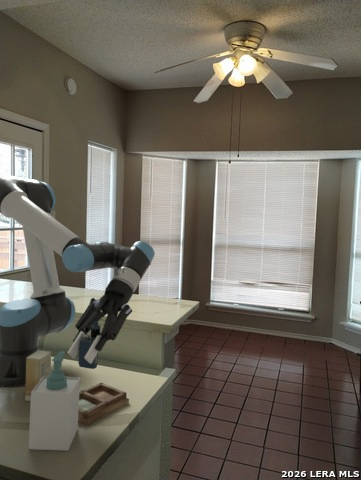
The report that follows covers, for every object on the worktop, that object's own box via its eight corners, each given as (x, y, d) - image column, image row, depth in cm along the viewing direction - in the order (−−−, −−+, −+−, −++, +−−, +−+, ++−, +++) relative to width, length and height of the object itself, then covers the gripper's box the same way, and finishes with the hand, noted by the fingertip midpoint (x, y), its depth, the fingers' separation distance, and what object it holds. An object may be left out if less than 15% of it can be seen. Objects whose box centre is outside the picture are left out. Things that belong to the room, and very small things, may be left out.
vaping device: (95, 369, 97) (98, 324, 96) (76, 366, 98) (79, 321, 97) (99, 366, 100) (102, 321, 99) (80, 363, 101) (84, 319, 100)
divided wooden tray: (56, 409, 99) (56, 399, 99) (98, 390, 111) (98, 381, 111) (87, 425, 92) (87, 414, 92) (128, 402, 105) (129, 393, 105)
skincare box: (36, 391, 109) (38, 349, 108) (50, 392, 108) (52, 351, 107) (23, 401, 102) (25, 357, 102) (38, 403, 102) (40, 358, 101)
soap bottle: (78, 429, 90) (81, 351, 89) (68, 451, 82) (72, 364, 81) (41, 427, 90) (45, 349, 89) (28, 449, 81) (31, 363, 80)
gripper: (92, 274, 111) (46, 343, 97) (143, 282, 102) (100, 359, 88) (104, 289, 116) (60, 357, 102) (153, 298, 107) (113, 373, 93)
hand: (79, 358), depth 95 cm, fingers closed on vaping device, 5 cm apart
